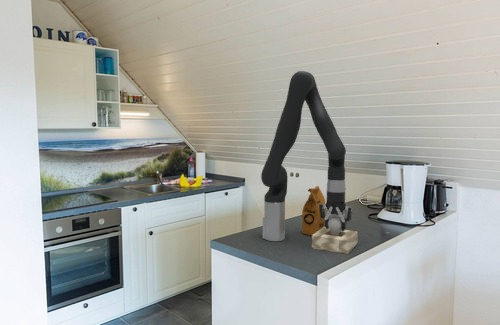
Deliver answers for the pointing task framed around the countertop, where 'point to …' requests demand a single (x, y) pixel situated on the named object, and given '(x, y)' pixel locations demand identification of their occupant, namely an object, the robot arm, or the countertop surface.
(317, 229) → the coffee package
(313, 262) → the countertop surface
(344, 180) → the robot arm
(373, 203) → the countertop surface
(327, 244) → the block
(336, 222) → the lightbulb
